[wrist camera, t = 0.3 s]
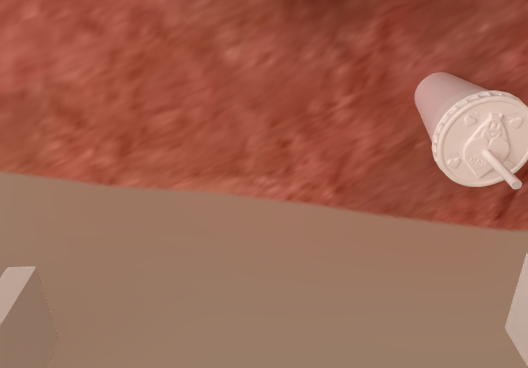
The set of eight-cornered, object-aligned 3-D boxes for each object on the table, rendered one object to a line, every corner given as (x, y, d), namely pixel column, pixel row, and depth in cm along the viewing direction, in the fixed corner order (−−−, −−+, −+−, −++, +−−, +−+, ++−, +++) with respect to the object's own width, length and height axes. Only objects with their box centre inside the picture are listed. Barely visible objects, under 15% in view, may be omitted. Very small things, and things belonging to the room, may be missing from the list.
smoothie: (391, 130, 41) (449, 222, 29) (405, 52, 38) (477, 119, 26) (467, 133, 41) (557, 226, 29) (487, 56, 38) (597, 124, 26)
